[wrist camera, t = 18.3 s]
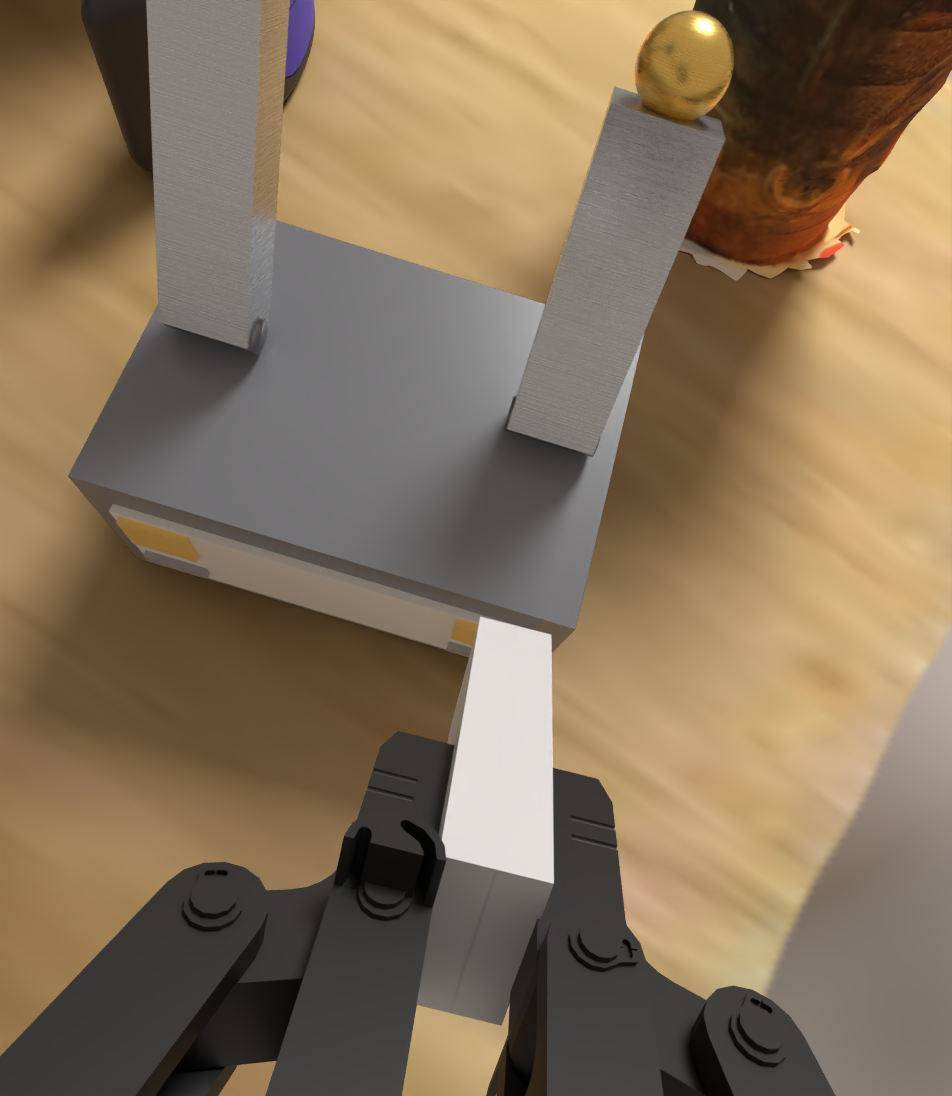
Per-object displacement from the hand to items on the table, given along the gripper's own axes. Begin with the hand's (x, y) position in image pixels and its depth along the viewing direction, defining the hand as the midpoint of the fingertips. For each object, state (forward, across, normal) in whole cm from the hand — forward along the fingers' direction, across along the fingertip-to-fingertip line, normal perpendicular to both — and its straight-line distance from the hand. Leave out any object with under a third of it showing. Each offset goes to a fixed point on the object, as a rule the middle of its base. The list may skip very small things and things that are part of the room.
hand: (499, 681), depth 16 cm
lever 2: (+13, 0, +2) cm, 13 cm away
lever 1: (+13, -12, +2) cm, 17 cm away
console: (+19, -6, -4) cm, 20 cm away
